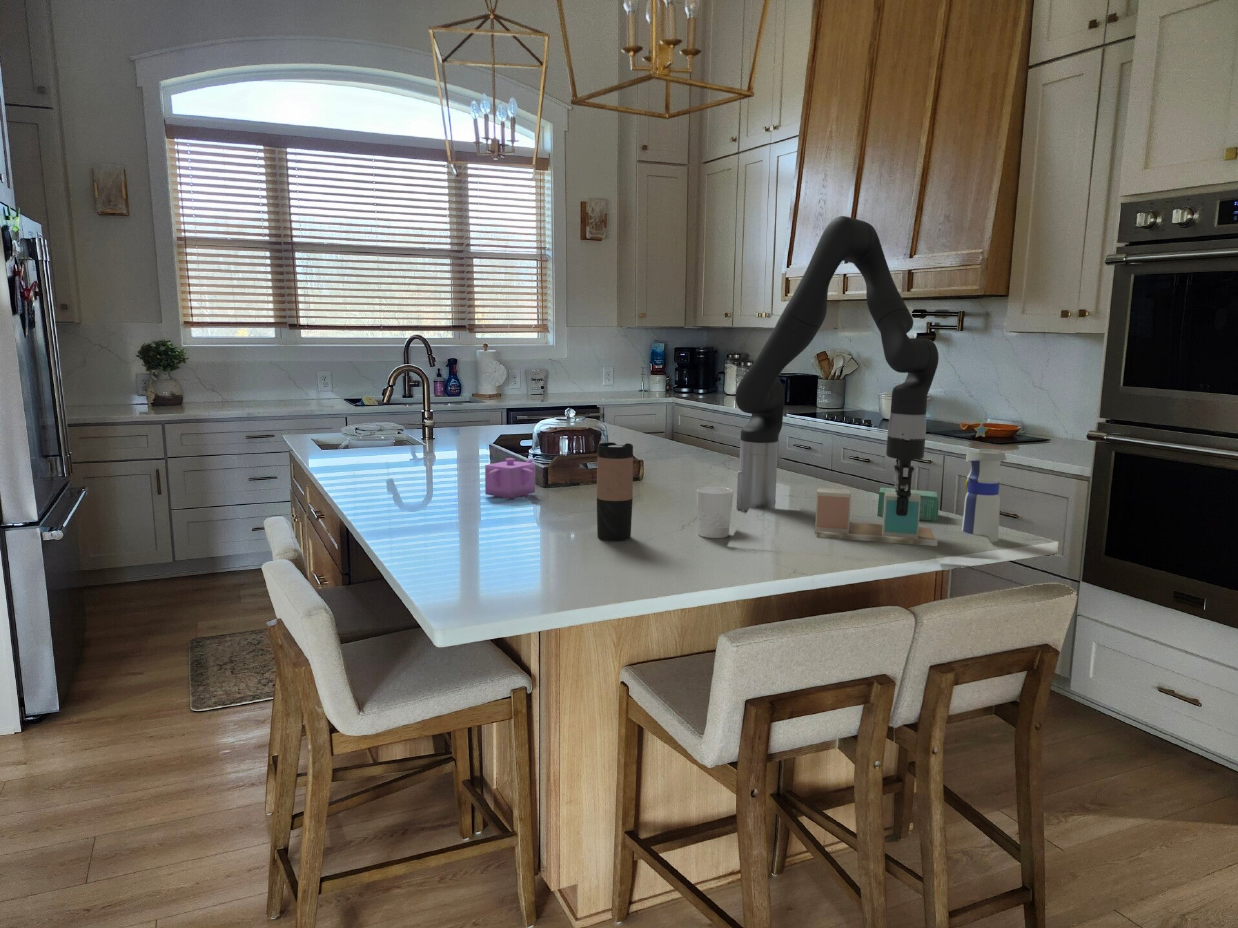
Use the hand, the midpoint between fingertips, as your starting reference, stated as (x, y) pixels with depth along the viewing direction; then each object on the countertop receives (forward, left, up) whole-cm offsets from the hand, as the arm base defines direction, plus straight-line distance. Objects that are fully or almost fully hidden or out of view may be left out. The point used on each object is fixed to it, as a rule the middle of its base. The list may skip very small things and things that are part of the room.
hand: (900, 511), depth 183 cm
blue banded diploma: (+17, +11, -7) cm, 22 cm away
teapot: (-96, +21, -7) cm, 98 cm away
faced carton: (-14, 0, -6) cm, 15 cm away
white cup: (-39, -5, -7) cm, 40 cm away
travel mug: (-59, -14, -7) cm, 61 cm away
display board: (-5, +3, -7) cm, 9 cm away
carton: (0, 0, -6) cm, 6 cm away
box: (+3, +23, -7) cm, 25 cm away
